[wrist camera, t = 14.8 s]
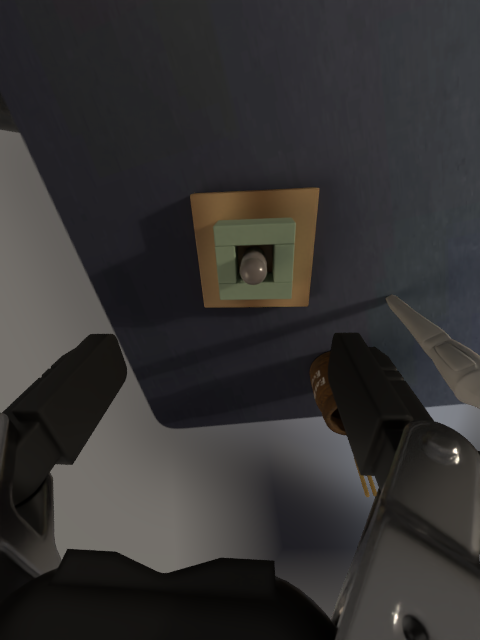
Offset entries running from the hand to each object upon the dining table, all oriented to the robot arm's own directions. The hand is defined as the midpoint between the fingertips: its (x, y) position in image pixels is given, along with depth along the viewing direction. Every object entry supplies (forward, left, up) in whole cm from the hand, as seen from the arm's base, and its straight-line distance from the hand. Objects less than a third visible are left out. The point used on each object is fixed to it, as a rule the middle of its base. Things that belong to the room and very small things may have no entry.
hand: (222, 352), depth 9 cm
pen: (+14, -6, -16) cm, 22 cm away
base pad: (+1, -1, -16) cm, 16 cm away
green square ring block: (+1, 0, -14) cm, 14 cm away
